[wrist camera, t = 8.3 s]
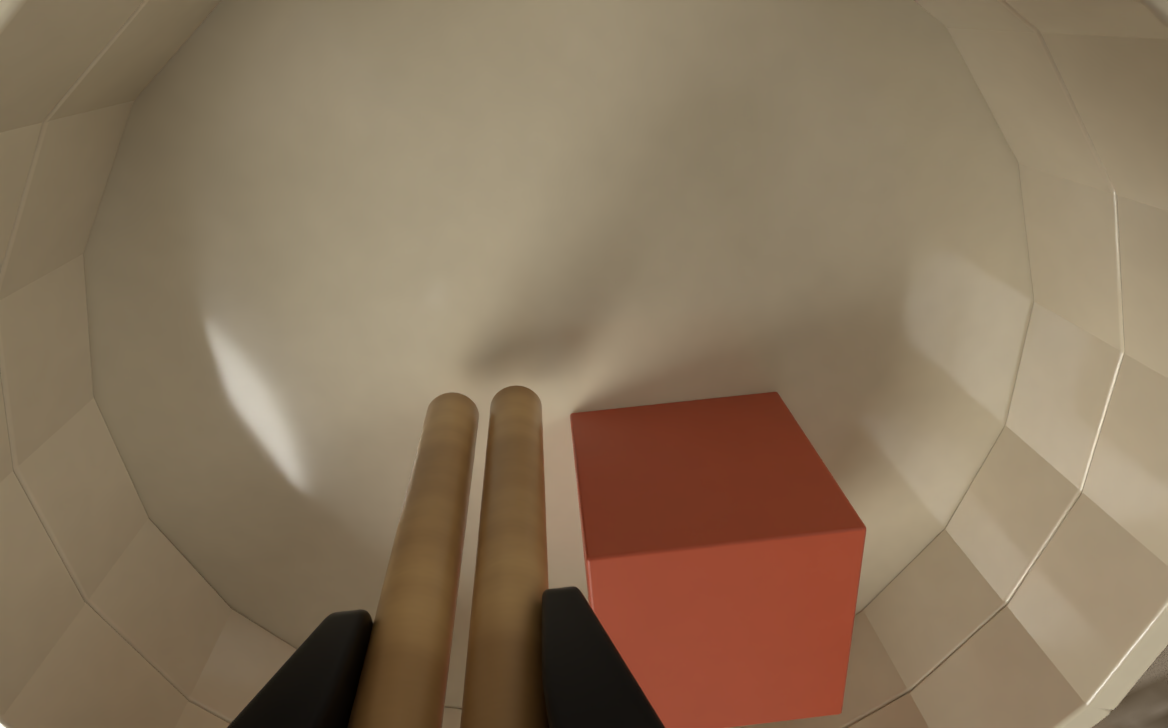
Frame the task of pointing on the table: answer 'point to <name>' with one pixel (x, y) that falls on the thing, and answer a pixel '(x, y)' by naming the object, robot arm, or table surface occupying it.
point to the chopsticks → (432, 573)
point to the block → (719, 558)
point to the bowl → (578, 317)
